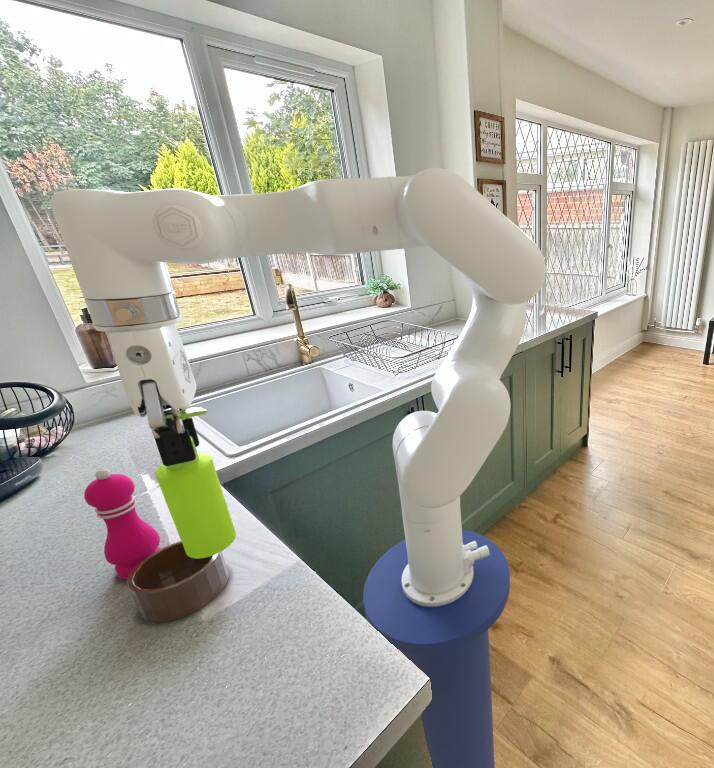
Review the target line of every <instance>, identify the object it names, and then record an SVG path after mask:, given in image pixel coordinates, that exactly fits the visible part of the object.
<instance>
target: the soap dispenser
mask: <svg viewBox="0 0 714 768" xmlns="http://www.w3.org/2000/svg"><path fill="white" fill-rule="evenodd" d="M179 411H180V415H181V418H182V420H185V419H187V418H193V417H197V416H202V415H203V416H204V415H206V413H207V412H208V409H206V408H203V407H201V406H195V407H189V408H188V409H186V410H179ZM165 417H167V418H171V419H172V420H174V419H173V415H167V416H165ZM190 438H191V441H192V444H193V447H194V451H195V454H196V458H195V460H193V461H189V462H184V463H180V464H175V465H171V466H164V465H163V463H161V465H159V466H158V467H157V468H156V469H155V472H154V475H155V478H156V480H157V483H158V485H159V489H160V490H161V493H162V495H163V498H164V501H165V504H166V506H167V509H168V511H169V513H170V516H171V518H172V521H173V524H174V526H175V528H176V531H177V533H178V536H179V539H180V541H182V544H183V546H184V549H185V552H186V554H187V555H188V556H189V557H191V558H196V559H199V558H206V557H210V556H213V555H215V554H217V553H219V552H221V551H222V552H223V551H224V550H226V549H227V548H229V547H230V546H231V545H232V544H233V543H234V542H235V539H236V537H237V532H236V530H235V525H234V523H233V519H232V517H231V513H230V510H229V507H228V504H227V501H226V498H225V495H224V491H223V489H222V486H221V482H220V479H219V476H218V473H217V470H216V467H215V463H214V460H213V458H212V456H211V455H210V454H209V453H207V452H198V451H197V447H195V444H194V441H193V438H192V437H191V436H190Z"/></svg>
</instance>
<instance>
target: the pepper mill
mask: <svg viewBox="0 0 714 768" xmlns="http://www.w3.org/2000/svg"><path fill="white" fill-rule="evenodd" d="M94 477H95V479H93V480H92V481H91V482H90V483H89V484H88V485H86V487H85V490H84V494H83V495H84V496H83V497H84V500H85V502H86V503H87V505H88V506H90V507H92V508H94V512H95V513H96V517H97V518H99V519H101V520H103V522H104V524H105V525H106V531H107V534H106V539H105V542H104V549H103V554H104V559H105V560H106V562H107V563H108V564H110V565H113V566H114V570H115V572H116V575H117V577H118V578H120V579H122V580H128V578H129V575H130V573H131V572H132V571H133V570H134V569H135V567H136V566H137V565H138V564H139V563H140V562H142V561H143V560H144V559H146V558H147V557H148V556H150V555H151V554H153V553H155V552H156V551H158V550H160V549H161V548H160V547H159V545H160V542H161V537H160V535H159V533H158V531H157V530H156V529H155V528H154V527H153V526H152V525H151V524H149V523H147V522H146V521H144V520H143V519H142V518H141V517H140V516H139V515H138V513H137V510H136V506H137V504H138V501H137V500H136V496H135V495H133V494H134V492H135V488H136V486H135V483H134V480H132V478H130V477H129V476H128V475H125V474H123V473H111V470H110V469H108V468H100V469H98V470H97V471H96V472H95V475H94Z"/></svg>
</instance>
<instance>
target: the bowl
mask: <svg viewBox="0 0 714 768" xmlns="http://www.w3.org/2000/svg"><path fill="white" fill-rule="evenodd" d="M227 566H228V565H227V563H226V560H225V557H224V554H223V551H221V552H219V553H217V554H215V555H213V556H210V557H206V558H199V559H196V558H191V557H189V556H188V555H187V554H186V552H185V549H184V546H183V544H182V541H181V540H179V541H176V542H173V543H171V544H168V545H166V546H164V547H162V548H160V550H158V551H156V552H155V553H153V554H151V555H150V556H148V557H147V558H146V559H144V560H143V561H142V562H140V563H139V564H138V565H137V566H136V567H135V569H134V570H133V571H132V572H131V573H130V575H129V578H128V579H126V580H127V581H126V583H127V588H128V590H129V592H130V595H131V597H132V599H133V601H134V604H135V606H136V608H137V611H138V613H139V614H140V616H141V618H142V619H144V620H145V621H147V622H149V623H157V624H158V623H159V624H160V623H168V622H172V621H177V620H180V619H183V618H185V617H187V616H189V615H191V614H194V613H195V612H198V611H199V610H201V609H202V608H204V607H206V606H207V605H209V603H211V602H212V601H213V600H215V599H216V598H217V597H218V596H219V595H220V594H221V592H222V591H223V590H224V589H225V587H226V586H227V583H228V581H229V576H230V575H229V571H228V570H229V569H228V567H227Z"/></svg>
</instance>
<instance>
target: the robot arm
mask: <svg viewBox="0 0 714 768" xmlns="http://www.w3.org/2000/svg"><path fill="white" fill-rule="evenodd" d="M50 208H51V210H52V213H53V217H54V220H55V222H56V225H57V228H58V231H59V233H60V237H61V239H62V241H63V244H64V247H65V250H66V253H67V256H68V259H69V261H70V263H71V267H72V269H73V273H74V274H75V275H74V276H75V277H76V281H77V283H78V285H79V289H80V291H81V293H82V296H83V299H84V302H85V305H86V308H87V310H88V313H89V316H90V319H91V321H92V324H93V328H94V329H95V331H97V332H107V334H108V338H109V341H110V346H111V350H112V353H113V356H114V361H115V363H116V364H115V365H116V367H117V370H118V373H119V377H120V380H121V383H122V385H123V389H124V391H125V395H126V397H127V400H128V402H129V405H130V407H131V409H132V412H133V413H134V415H136V416H138V417H140V418H145V417H146V416H147V422H148V426H149V429H151V432H152V436H153V439H154V441H155V445H156V449H157V450H158V453H159V456H160V459H161V462H162V464H163V465H164V466H171V465H175V464H180V463H184V462H189V461H193V460H195V458H196V454H195V451H194V447H193V444H192V441H191V438H190V436H191V437H192V438H193V441H194V444H195V447H196V448H197V447H199V446H200V439H199V436H198V433H197V429H196V426H195V422H194V419H193V417H190V418H187V419H185V420H182V418H181V415H180V411H179V410H186V409H188V408H190V406H191V405H192V403H193V400H194V398H195V395H196V392H197V388H198V387H197V381H196V379H195V376H194V373H193V369H192V367H191V364H190V361H189V358H188V355H187V353H186V349H185V345H184V343H183V340H182V338H181V335H180V333H179V330H178V328H177V326H176V324H177V323H181V322H182V320H183V318H182V315H181V310H180V308H179V305H178V301H177V298H176V297H177V296H176V294H175V291H174V287H173V284H172V280H171V276H170V273H169V269H168V266H167V263H170V264H171V263H172V264H181V265H204V264H205V265H206V264H209V263H210V264H211V263H213V262H218V261H223V260H229V259H231V260H232V259H240V258H246V257H247V258H248V257H249V258H250V257H259V256H260V257H261V256H270V255H271V256H272V255H284V254H298V253H299V254H301V253H302V254H303V253H306V254H316V255H322V256H343V255H351V254H352V255H353V254H362V253H363V254H364V253H372V252H383V251H384V252H385V251H392V250H404V249H405V250H406V249H416V248H417V249H418V248H427V247H429V248H430V249H432V250H433V252H435V253H437V254H438V255H439V256H440V257H441V258H443V260H445V261H446V262H447V263H449V264H450V265H451V266H453V267H454V268H455V269H456V270H458V271H459V272H460V273H462V274H463V275H464V276H465V279H466V280H467V282H468V284H469V287H470V289H471V295H472V301H471V303H472V304H471V310H470V312H469V316H468V318H467V320H466V322H465V324H464V326H463V328H462V330H461V332H460V333H459V336H458V337H457V339H456V340H455V342H454V343H453V345H452V347H451V349H450V350H449V352H447V355H446V356H445V358H444V360H443V361H442V363H441V364H440V365H439V367H438V369H437V371H436V372H435V374H434V375H433V378H432V381H431V385H430V392H431V396H432V399H433V402H434V404H435V406H436V408H437V410H438V411H437V413H436V412H434V411H431V410H417V411H413V412H411V413H409V414H407V415H406V416H405V417H403V418H402V419H401V421H400V422H399V423H398V424H397V426H396V428H395V430H394V431H393V435H392V443H391V444H392V454H393V459H394V465H395V472H396V477H397V483H398V484H397V485H398V492H399V498H400V499H399V501H400V507H401V516H402V524H403V531H404V537H405V538H404V540H406V548H407V556H408V565H407V566H406V567H405V569H404V571H403V574H402V581H401V582H402V588H403V592H404V594H405V595H406V597H407V598H408V599H409V600H410V601H412V602H414V603H415V604H418V605H421V606H427V607H437V606H442V605H446V604H449V603H451V602H453V601H455V600H457V599H458V598H460V597H461V596H462V595H464V593H465V592H466V591H467V590H468V589H469V587H470V585H471V583H472V581H473V575H474V572H473V565H472V564H474V561H476V560H478V559H482V558H485V557H487V556H489V555H490V553H489V549H488V547H487V546H486V545H485V546H483V547H480V548H478V549H477V550H474V551H472V552H471V551H470V550H473V549H476V548H477V543H476V541H473V542H471V543H468V544H466V545H463V539H462V530H463V525H462V513H461V496H462V495H463V493H464V492H465V491H466V489H468V487H469V486H470V485H471V483H472V482H473V480H474V479H475V477H476V476H477V474H478V473H479V471H480V470H481V468H482V466H483V465H484V463H485V462H486V460H487V459H488V457H489V455H490V454H491V453H492V451H493V449H494V448H495V446H496V445H497V443H498V441H499V440H500V438H501V436H502V435H503V433H504V431H505V429H506V427H507V425H508V422H509V419H510V415H511V408H512V407H511V405H512V404H511V398H510V394H509V391H508V390H507V388H506V385H505V384H504V383H503V382H502V380H501V377H502V375H503V373H504V371H505V370H506V368H507V367H508V365H509V363H510V361H511V359H512V357H513V356H514V354H515V352H516V351H517V349H518V346H519V344H520V342H521V340H522V337H523V335H524V331H525V327H526V321H527V320H526V319H527V306H526V304H527V303H526V302H529V301H530V300H532V299H533V298H534V297H535V296H536V295H538V293H539V292H540V291H541V290H542V287H543V286H544V283H545V280H546V276H547V275H546V274H547V268H546V267H547V265H546V262H545V258H544V256H543V253H542V250H541V249H540V248H539V246H538V245H537V243H536V242H535V241H534V240H533V239H532V238H531V237H530V236H529V235H528V234H526V232H524V230H522V229H521V228H520V227H519V226H517V224H515V223H514V222H513V221H512V220H511V219H510V218H509V217H507V215H505V214H504V213H503V212H502V211H501V210H499V209H498V208H497V207H496V206H495V205H494V204H493V203H492V202H491V201H490V200H489V199H487V197H485V196H484V195H483V194H482V193H480V191H478V190H477V189H476V188H475V187H474V186H473V185H471V184H470V183H469V182H468V181H466V179H464V178H463V177H461V176H460V175H459V174H457V173H455V172H453V171H451V170H450V169H449V170H448V169H446V168H442V167H431V168H426V169H424V170H421V171H419V172H418V173H417V174H414V175H402V176H401V175H399V176H398V175H397V176H396V175H395V176H384V177H383V176H380V177H357V178H355V177H354V178H352V177H349V178H324V179H319V180H314V181H310V182H307V183H305V184H303V185H300V186H298V187H295V188H292V189H286V190H281V191H274V192H262V193H261V192H260V193H245V194H244V193H243V194H221V195H219V194H216V195H215V194H214V195H213V194H212V195H211V194H207V193H204V192H200V191H195V190H191V189H186V188H160V189H152V190H151V189H150V190H144V191H142V190H141V191H132V192H126V191H119V190H105V189H81V188H80V189H78V188H77V189H64V190H63V189H62V190H59V191H57V192H55V193H54V194H52V196H51V198H50ZM167 415H173V419H174V420H172V419H171V418H167V417H165V416H167Z"/></svg>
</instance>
